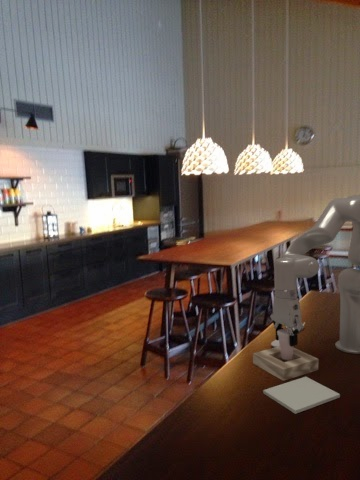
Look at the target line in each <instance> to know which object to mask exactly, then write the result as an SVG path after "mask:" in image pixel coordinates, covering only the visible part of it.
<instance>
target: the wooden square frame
mask: <svg viewBox="0 0 360 480" xmlns="http://www.w3.org/2000/svg"><path fill="white" fill-rule="evenodd" d="M252 364H253V365H254V366H257V368H259V369H261V370H263V371H265V372H266V373H268V374H270V375H272V376H273V377H275V378H278V379H279V380H281V381H287V380H290V379H294V378H298V377H301V376H303V375H306V374H307V375H308V374H310V373H313V372H316V371H318V370H319V358H317V357H316V356H313V355H311V354H309V353H306V352H304V351H301V350H300V349H298V348H295V347H293V356H292V359H290V360H285V359H282V357H281V350H280V346H279V347H272V348H268V349H263V350H260V351H257V352H253V354H252Z"/></svg>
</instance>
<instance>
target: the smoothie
mask: <svg viewBox="0 0 360 480" xmlns="http://www.w3.org/2000/svg"><path fill="white" fill-rule="evenodd" d="M293 331H294V330H293ZM277 335H278V337H279V344H280V350H281V357H282V359H285V361H286V360H290V359H292V356H293V348H295V347H294V346H292V347H291V346H290V340H289V336H290V335H291V334H290V330H289V327H287V328H283V329H280V330H278V331H277Z"/></svg>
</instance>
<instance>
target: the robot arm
mask: <svg viewBox="0 0 360 480" xmlns="http://www.w3.org/2000/svg"><path fill="white" fill-rule="evenodd" d="M348 222H349V223H352V233H351V238H350V242H349V243H350V244H349V246H348V247H349V248H348V252H347V259H348V261H349V263H350V264H352V265H355V266H358V267H360V194H353V195H350V196H347V197H337V198H334V199H332V200H330V202H329V203H328V204H327V206H326V207H325V209H324V210H323V212H322V213H321V215H320V216H319V218H318V219H317V221H315V223H314V225H313V227H312V228H310V229H308V230H307V231H305V232H304V233H303V234H301V235H300V236H298V237H297V238H296V239H294V241H292V242H291V243H290V245H289V246H288V247H287V249H286V250H285V252H284V254H283V256H282V257H278V258H276V259H274V262H273V263H274V264H273V268H274V269H273V270H274V271H273V273H274V275H273V276H274V278H273V279H274V280H273V281H274V297H273V302H272V313H271V314H270V316H269V318H270V319H271V321H272V324H273V328H274V329H275V340H279V337H278V335H277V331H278V330H280V329H284V327H286V326H287V327H289V330H290V334H291V335H290V336H289V340H290V346H291V347H292V346H298V344H299V343H298V342H299V341H298V335H299V334H300V333H301V332H302V331H303V329H304V328H305V326H303V325H302V324H303V322H302V312H301V310H302V309H301V304H300V300H299V298H298V295H299V293H298V291H297V289H298V288H297V287H298V286H297V283H298V282H297V281H298V279H300V278H302V279H303V278H304V279H305V278H306V279H307V278H308V279H309V278H312V277H314V276H316V275H317V274H318V272H319V270H320V263H319V261H318V260H317V259H316V258H315V257H312V256H310V255H305V254H307V252H310V250H312V249H314V248H317V247H320V246H321V247H322V246H325V245H327V244H330V243H331V242H333V241H335V238H337V236H338V234H339V232H340V231H341V229H342V228H343V226H344V225H345V223H348ZM337 277H338V279H337V283H338V284H337V285H338V291H339V295H340V296H339V298H340V309H339V311H340V313H339V340H338V341H336V342H335V348H336V349H338V350H339V351H341V352H344V353H347V354H353V355H354V354H355V355H358V354H359V355H360V269H359V268H354V267H353V268H352V267H350V268H344V269H343V270H342V271H340V272H339V274H338V276H337ZM293 325H294V326H293ZM283 326H284V327H283ZM293 328H294V331H293Z"/></svg>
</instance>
